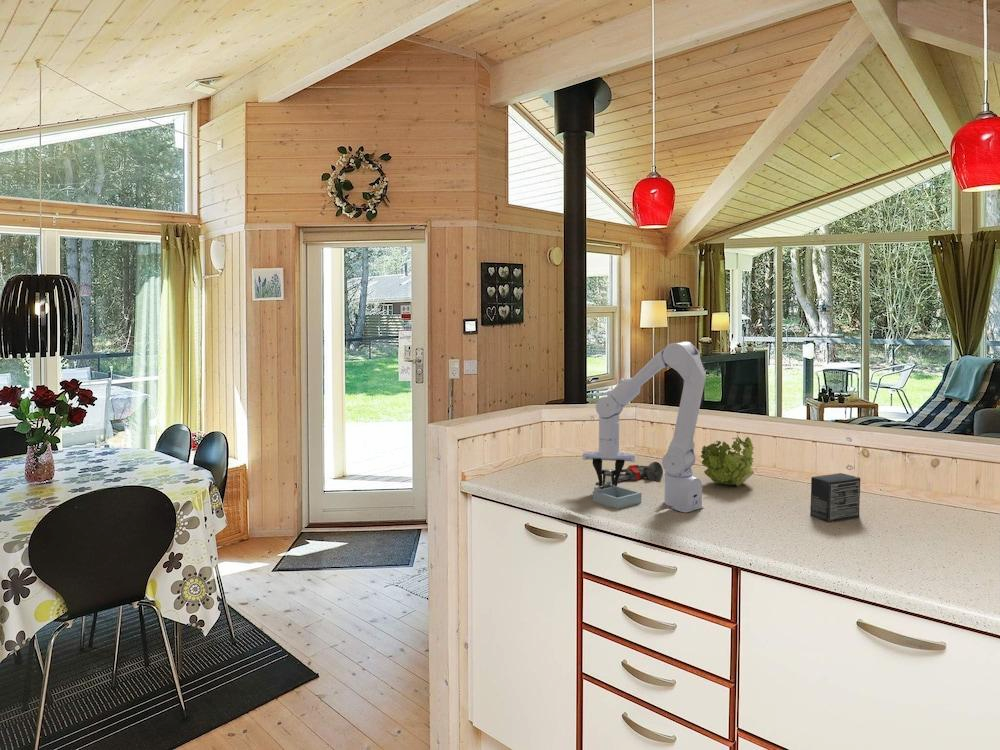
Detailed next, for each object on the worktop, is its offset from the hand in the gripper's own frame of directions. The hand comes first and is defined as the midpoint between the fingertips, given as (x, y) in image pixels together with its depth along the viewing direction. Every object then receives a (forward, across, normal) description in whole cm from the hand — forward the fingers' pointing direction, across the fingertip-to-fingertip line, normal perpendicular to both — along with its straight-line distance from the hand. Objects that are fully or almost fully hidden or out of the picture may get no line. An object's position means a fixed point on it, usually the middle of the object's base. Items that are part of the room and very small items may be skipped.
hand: (608, 485), depth 194 cm
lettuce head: (+3, -34, -21) cm, 40 cm away
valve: (+3, -4, -18) cm, 19 cm away
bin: (+3, -3, +9) cm, 10 cm away
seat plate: (+3, 0, 0) cm, 3 cm away
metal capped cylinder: (+2, 0, 0) cm, 2 cm away
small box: (+3, -58, +8) cm, 58 cm away
